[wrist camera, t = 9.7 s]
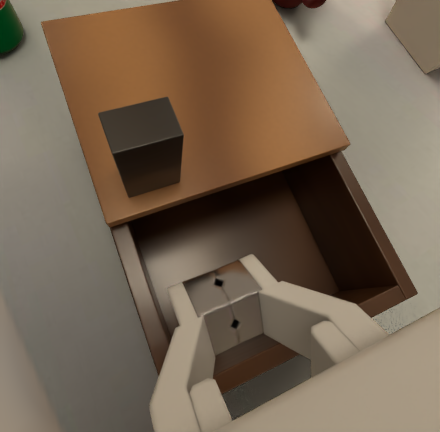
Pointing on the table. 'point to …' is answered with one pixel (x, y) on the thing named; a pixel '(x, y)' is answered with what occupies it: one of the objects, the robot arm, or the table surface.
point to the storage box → (264, 253)
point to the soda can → (9, 27)
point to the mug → (294, 0)
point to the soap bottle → (418, 30)
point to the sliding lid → (187, 100)
